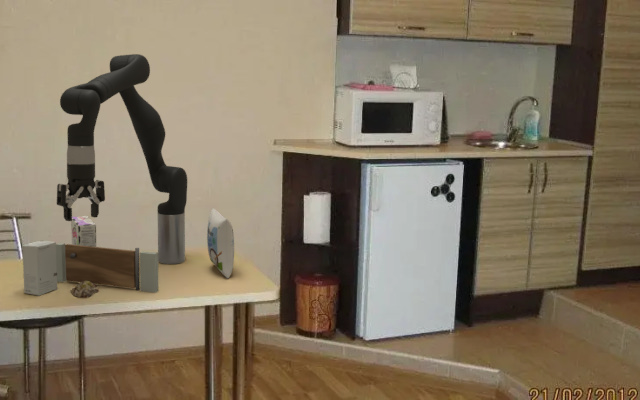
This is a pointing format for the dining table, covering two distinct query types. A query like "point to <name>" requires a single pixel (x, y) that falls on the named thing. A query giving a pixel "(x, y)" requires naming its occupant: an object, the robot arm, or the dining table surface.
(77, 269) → the door
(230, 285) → the dining table surface
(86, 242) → the candy box
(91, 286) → the mineral rock
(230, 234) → the pouch
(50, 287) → the skincare box
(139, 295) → the dining table surface
